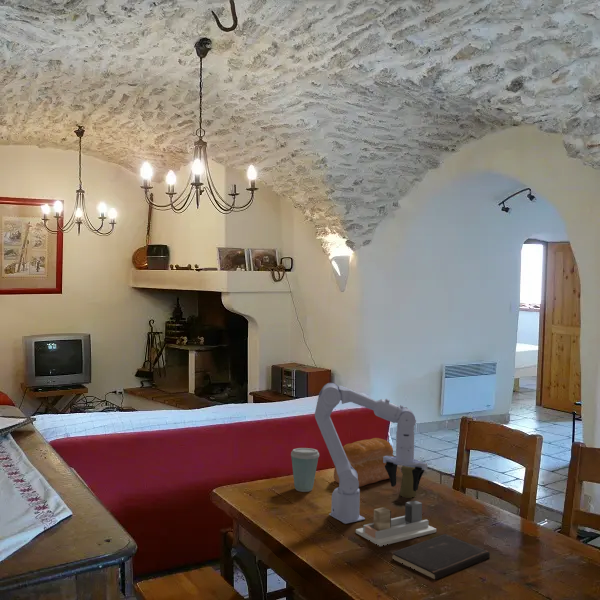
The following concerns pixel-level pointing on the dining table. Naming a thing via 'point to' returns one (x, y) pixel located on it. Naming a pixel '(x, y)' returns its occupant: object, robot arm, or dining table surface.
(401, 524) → the rail
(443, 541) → the hardcover book
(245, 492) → the dining table surface
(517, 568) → the dining table surface
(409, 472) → the cork
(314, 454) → the disposable coffee cup
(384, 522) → the block
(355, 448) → the bread
